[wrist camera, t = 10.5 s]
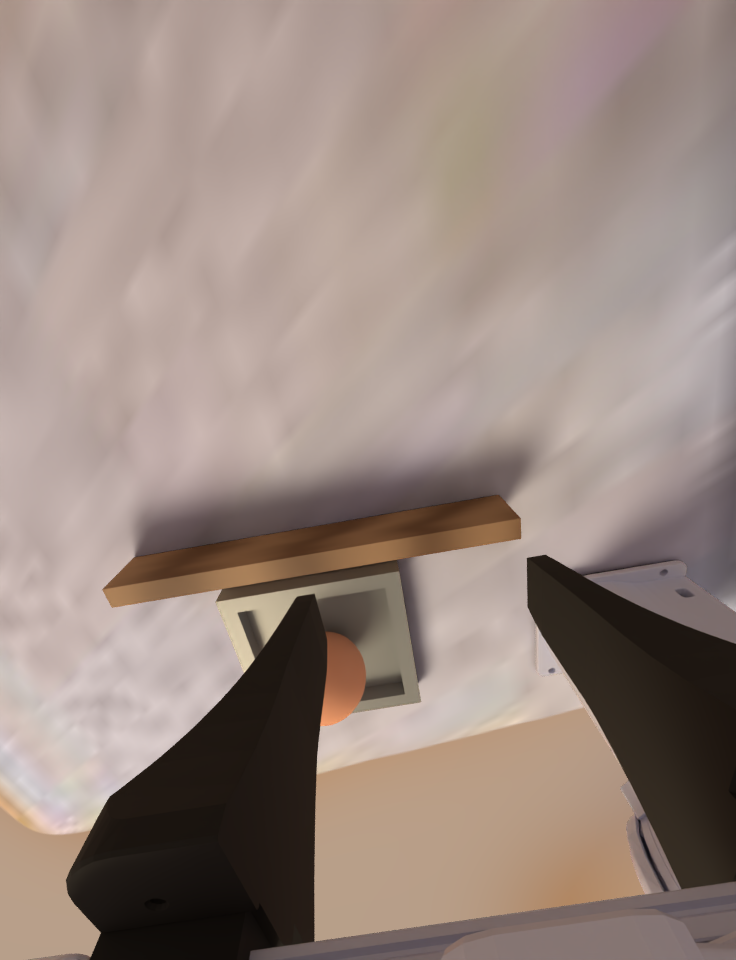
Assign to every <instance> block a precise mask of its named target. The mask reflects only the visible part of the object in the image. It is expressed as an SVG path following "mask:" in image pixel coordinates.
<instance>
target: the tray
mask: <svg viewBox="0 0 736 960" xmlns="http://www.w3.org/2000/svg"><path fill="white" fill-rule="evenodd" d="M314 593H315V597H316V600H317V604H318V608H319V611H320V615H321V618H322V622H323V626H324V629H325V632H335V633H338V634H341V635H343V636H345V637H347V638H348V639H349V640H350V641H352V642H353V643H354V644H355V646H356V647H357V648H358V650H359V651H360V653H361V655H362V657H363V660H364V664H365V669H366V684H365V689H364V692H363V695H362V698H361V700H360V702H359V704H358V705H357V707H356V708H355V709H354V710H353V712H352V713H356V712H362V711H369V710H375V709H381V708H388V707H394V706H400V705H407V704H413V703H419V702H421V699H420V693H419V687H418V681H417V675H416V669H415V663H414V657H413V651H412V645H411V639H410V633H409V627H408V621H407V615H406V609H405V603H404V597H403V591H402V585H401V579H400V573H399V568H398V563H397V560H392V561H386V562H380V563H374V564H368V565H362V566H356V567H350V568H344V569H338V570H333V571H327V572H321V573H315V574H309V575H303V576H297V577H291V578H285V579H279V580H273V581H267V582H261V583H255V584H250V585H244V586H238V587H232V588H226V589H222V591H221V593H220V595H219V597H218V599H217V600H216V604H217V607H218V609H219V612H220V614H221V617H222V619H223V621H224V624H225V626H226V629H227V631H228V634H229V636H230V639H231V641H232V644H233V646H234V649H235V651H236V654H237V656H238V659H239V661H240V664H241V666H242V669H243V671H244V673H245V671H246V670H247V669H248V668H249V666H250V665H251V664H252V662H253V661H254V660H255V658H256V657H257V656H258V654H259V653H260V652H261V650H262V649H263V647H264V646H265V645H266V643H267V642H268V640H269V639H270V637H271V636H272V634H273V633H274V631H275V630H276V628H277V627H278V625H279V624H280V622H281V620H282V619H283V617H284V616H285V614H286V613H287V611H288V609H289V608H290V606H291V605H292V603H293V601H294V600H295V598H296V597H297V596H303V595H309V594H314Z"/></svg>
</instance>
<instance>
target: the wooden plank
mask: <svg viewBox="0 0 736 960" xmlns="http://www.w3.org/2000/svg"><path fill="white" fill-rule="evenodd" d="M516 539H521V518H520V517H519V516H518V515H517V514H516V513H515V512H514V511H513V510H512V509H511V507H510V506H509V505H508V504H507V503H506V502H505V501H504V500H503V499H502V498H501V497H500V496H499V495H495V496H489V497H483V498H477V499H471V500H466V501H460V502H454V503H448V504H442V505H437V506H431V507H425V508H419V509H413V510H408V511H402V512H396V513H390V514H384V515H378V516H373V517H367V518H361V519H355V520H349V521H344V522H338V523H332V524H326V525H320V526H314V527H309V528H303V529H297V530H291V531H285V532H280V533H274V534H268V535H262V536H256V537H251V538H245V539H239V540H233V541H227V542H221V543H216V544H210V545H204V546H198V547H192V548H187V549H181V550H175V551H169V552H163V553H158V554H152V555H146V556H140V557H134V558H133V559H132V560H131V561H130V562H129V563H128V564H127V565H126V566H125V567H124V568H123V569H122V570H121V571H120V572H119V573H118V574H117V575H116V576H115V577H114V578H113V579H112V580H111V581H110V582H109V583H108V584H107V585H106V586H105V587H104V588H103V589H102V590H103V592H104V594H105V596H106V597H107V599H108V601H109V603H110V605H111V607H112V608H113V607H119V606H125V605H131V604H137V603H143V602H149V601H155V600H161V599H167V598H172V597H178V596H184V595H190V594H196V593H202V592H208V591H214V590H220V589H226V588H232V587H238V586H244V585H250V584H255V583H261V582H267V581H273V580H279V579H285V578H291V577H297V576H303V575H309V574H315V573H321V572H327V571H333V570H338V569H344V568H350V567H356V566H362V565H368V564H374V563H380V562H386V561H392V560H398V559H404V558H410V557H415V556H421V555H427V554H433V553H439V552H445V551H451V550H457V549H463V548H469V547H475V546H481V545H487V544H493V543H498V542H504V541H510V540H516Z"/></svg>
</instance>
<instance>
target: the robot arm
mask: <svg viewBox="0 0 736 960" xmlns="http://www.w3.org/2000/svg"><path fill="white" fill-rule="evenodd" d="M661 570H662V571H661ZM660 571H661V572H660ZM686 571H687V565H686V564H685V563H683V562H682V561H680V560H675V561H669V562H663V563H657V564H651V565H645V566H639V567H633V568H627V569H621V570H615V571H609V572H603V573H597V574H591V575H584V576H582V575H580V574H579V573H577V572H575V571H573V570H572V569H570V568H568V567H566V566H565V565H563V564H561V563H559V562H558V561H556V560H554V559H552V558H550V557H548V556H547V555H542V556H536V557H530V558H527V594H528V609H529V611H530V613H531V615H532V617H533V619H534V621H535V656H536V671H537V673H538V675H539V676H550V675H557V674H564V676H565V678H566V679H567V681H568V682H569V684H570V686H571V687H572V689H573V690H574V692H575V693H576V695H577V697H578V698H579V700H580V701H581V703H582V705H583V706H584V708H585V709H586V711H587V713H588V714H589V716H590V717H591V719H592V721H593V722H594V724H595V725H596V727H597V729H598V730H599V732H600V733H601V735H602V737H603V738H604V740H605V741H606V743H607V744H608V746H609V748H610V749H611V751H612V753H613V754H614V756H615V757H616V759H617V761H618V762H619V764H620V765H621V767H622V769H623V770H624V772H625V774H626V776H627V778H628V781H627V782H626V783H625V784H624V785H622V786H621V788H620V789H621V791H622V793H623V795H624V796H625V798H626V799H627V801H628V803H629V804H630V806H631V808H632V810H633V811H634V813H635V814H634V815H632V816H631V817H630V818H629V820H628V821H627V827H626V830H627V838H628V842H629V846H630V853H631V858H632V862H633V865H634V868H635V871H636V874H637V876H638V878H639V881H640V884H641V886H642V888H643V890H644V892H645V895H638V896H631V897H624V898H617V899H610V900H603V901H596V902H589V903H582V904H575V905H568V906H561V907H554V908H547V909H540V910H533V911H526V912H519V913H512V914H505V915H498V916H491V917H485V918H477V919H470V920H463V921H456V922H449V923H442V924H435V925H428V926H421V927H414V928H407V929H400V930H393V931H386V932H379V933H372V934H365V935H358V936H351V937H344V938H338V939H330V940H323V941H316V942H314V854H315V850H314V849H315V796H316V770H317V751H318V740H319V732H320V724H321V716H322V708H323V700H324V692H325V684H326V676H327V636H326V633H325V629H324V626H323V622H322V618H321V615H320V611H319V608H318V604H317V600H316V597H315V593H314V594H309V595H303V596H297V597H296V598H295V600H294V601H293V603H292V605H291V606H290V608H289V609H288V611H287V613H286V614H285V616H284V617H283V619H282V620H281V622H280V624H279V625H278V627H277V628H276V630H275V631H274V633H273V634H272V636H271V637H270V639H269V640H268V642H267V643H266V645H265V646H264V647H263V649H262V650H261V652H260V653H259V654H258V656H257V657H256V658H255V660H254V661H253V662H252V664H251V665H250V666H249V668H248V669H247V670H246V671H245V673H244V674H243V675H242V676H241V678H240V679H239V680H238V681H237V683H236V684H235V685H234V686H233V687H232V688H231V689H230V691H229V692H228V693H227V694H226V695H225V696H224V697H223V698H222V699H221V700H220V701H219V702H218V703H217V704H216V705H215V707H214V708H213V709H212V710H211V711H210V712H209V713H208V714H207V715H206V716H205V717H204V718H203V719H202V720H201V721H200V722H199V723H198V724H197V725H196V726H195V727H194V728H192V729H191V730H190V731H189V732H188V733H187V734H186V735H185V736H184V737H183V738H182V739H180V740H179V741H178V742H177V743H176V744H175V745H174V746H173V747H171V748H170V749H169V750H168V751H167V752H166V753H164V754H163V755H162V756H161V757H160V758H159V759H157V760H156V761H155V762H154V763H153V764H151V765H150V766H149V767H148V768H146V769H145V770H144V771H142V772H141V773H140V774H139V775H137V776H136V777H135V778H133V779H132V780H131V781H130V782H128V783H127V784H126V785H125V786H123V787H122V788H121V789H119V790H118V791H117V792H115V793H114V794H113V795H111V796H110V797H109V799H108V800H107V802H106V804H105V806H104V807H103V809H102V811H101V813H100V815H99V816H98V818H97V820H96V822H95V824H94V826H93V828H92V830H91V832H90V834H89V835H88V837H87V839H86V841H85V843H84V845H83V847H82V849H81V851H80V853H79V854H78V856H77V858H76V860H75V862H74V864H73V866H72V868H71V870H70V872H69V874H68V877H67V879H66V883H67V891H68V894H69V896H70V898H71V899H72V901H73V902H74V904H75V905H76V906H77V907H78V908H79V909H80V910H81V911H82V913H83V914H84V915H85V916H86V917H87V918H88V919H89V920H90V921H91V922H92V923H93V924H94V925H95V927H96V928H97V929H98V930H99V931H100V932H101V934H100V937H99V939H98V942H97V944H96V946H95V949H94V951H93V954H92V956H91V957H89V956H87V955H83V954H65V955H58V956H51V957H45V958H37V959H30V960H736V612H734V611H733V610H732V609H730V608H729V607H728V606H726V605H725V604H723V603H722V602H721V601H719V600H718V599H716V598H715V597H714V596H712V595H711V594H709V593H708V592H707V591H705V590H704V589H702V588H701V587H700V586H698V585H697V584H696V583H694V582H693V581H691V580H690V579H689V578H687V577H686Z"/></svg>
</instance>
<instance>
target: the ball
mask: <svg viewBox="0 0 736 960" xmlns="http://www.w3.org/2000/svg"><path fill="white" fill-rule="evenodd" d="M325 633H326V636H327V676H326V684H325V692H324V700H323V708H322V716H321V724H320V726H328V725H332V724H335V723H338V722H340V721H342V720H343V719H345V718H346V717H347V716H349V715H350V714H351V713H352V712H353V710H354V709H355V708H356V707H357V705H358V704H359V702H360V700H361V698H362V695H363V692H364V689H365V684H366V669H365V664H364V660H363V657H362V655H361V653H360V651H359V650H358V648H357V647H356V646H355V644H354V643H353V642H352V641H350V640H349V639H348V638H347V637H345V636H343V635H341V634H338V633H335V632H325Z"/></svg>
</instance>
